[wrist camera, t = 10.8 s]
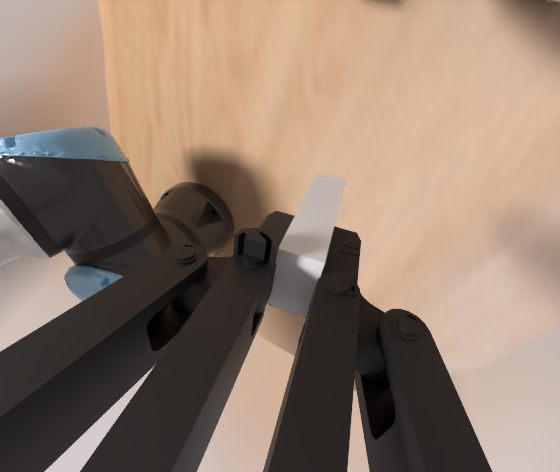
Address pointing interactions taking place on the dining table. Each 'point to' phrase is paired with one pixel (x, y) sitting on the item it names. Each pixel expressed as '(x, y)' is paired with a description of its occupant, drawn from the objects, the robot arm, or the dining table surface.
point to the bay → (553, 1)
